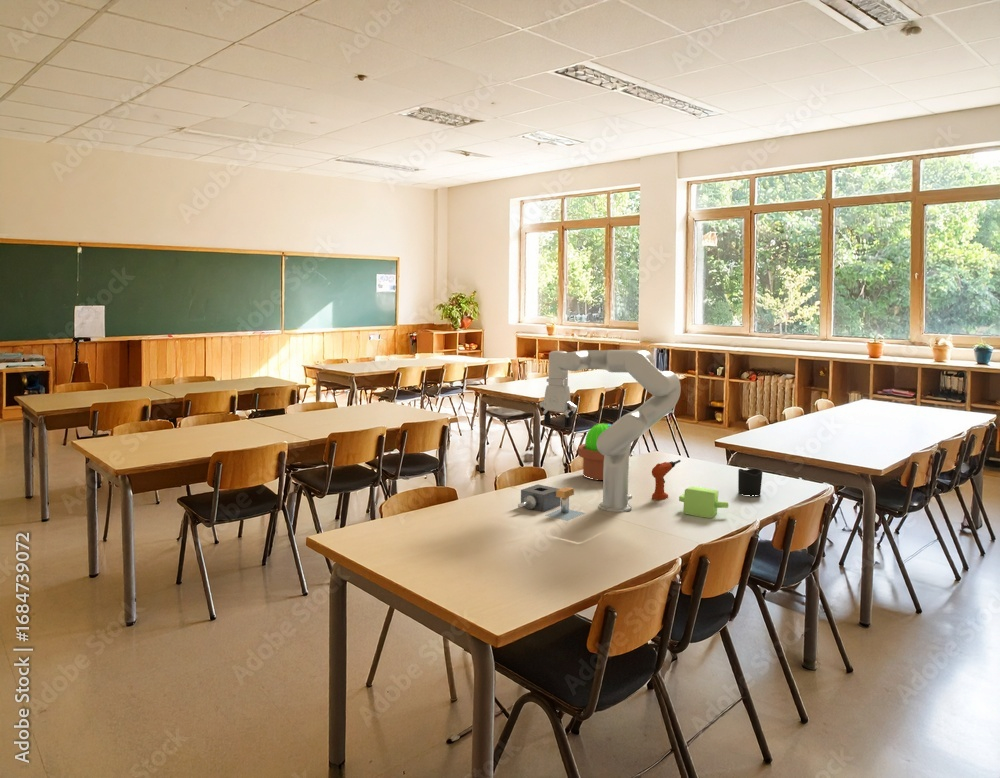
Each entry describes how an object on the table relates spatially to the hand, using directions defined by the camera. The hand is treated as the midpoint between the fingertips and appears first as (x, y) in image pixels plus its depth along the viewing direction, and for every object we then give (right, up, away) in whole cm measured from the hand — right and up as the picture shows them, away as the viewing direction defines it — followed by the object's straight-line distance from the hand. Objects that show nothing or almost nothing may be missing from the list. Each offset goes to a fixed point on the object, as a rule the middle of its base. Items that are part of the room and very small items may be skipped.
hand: (557, 425), depth 292 cm
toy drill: (+45, -30, +11) cm, 55 cm away
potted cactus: (+24, -26, +42) cm, 55 cm away
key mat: (+2, -33, -17) cm, 37 cm away
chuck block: (-10, -32, -9) cm, 34 cm away
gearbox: (+54, -33, -13) cm, 65 cm away
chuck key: (+2, -32, -14) cm, 35 cm away
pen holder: (+81, -29, +14) cm, 87 cm away
